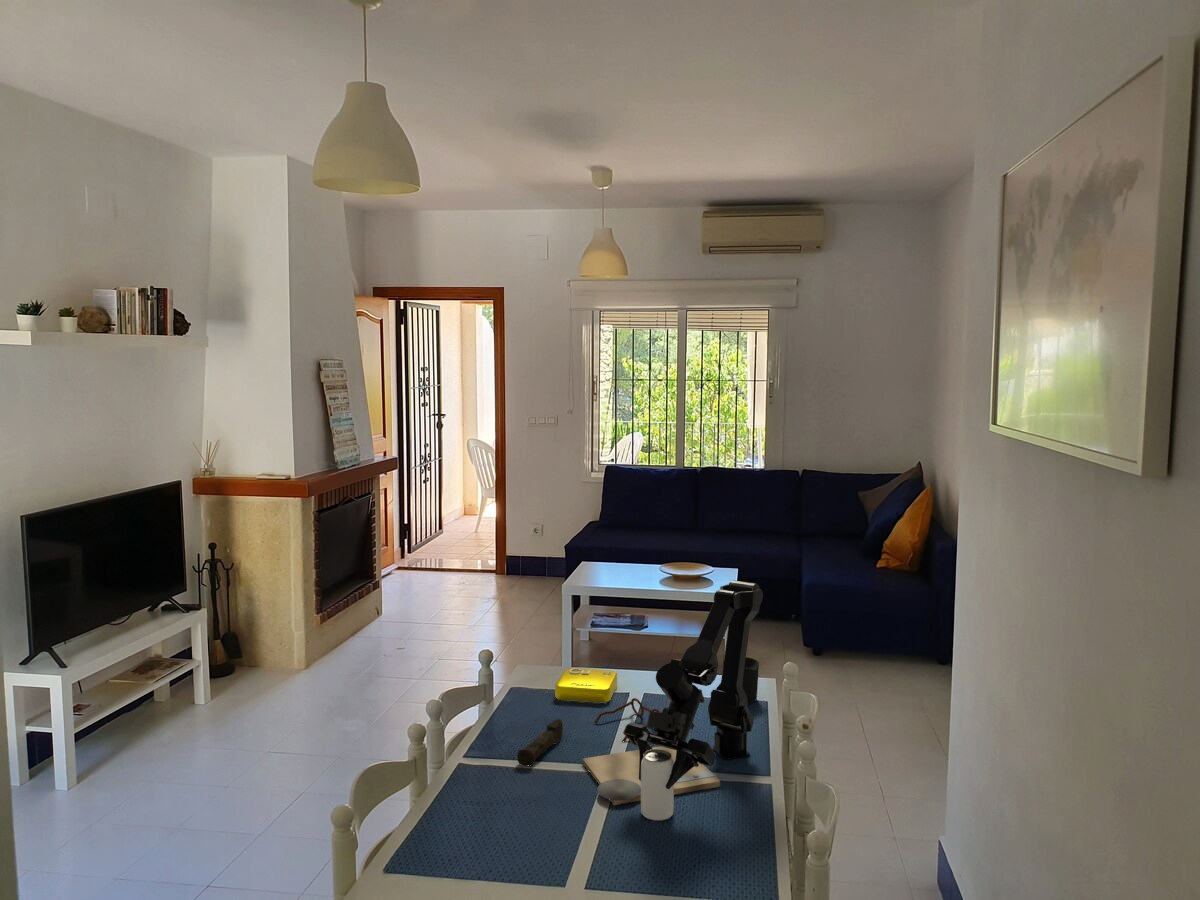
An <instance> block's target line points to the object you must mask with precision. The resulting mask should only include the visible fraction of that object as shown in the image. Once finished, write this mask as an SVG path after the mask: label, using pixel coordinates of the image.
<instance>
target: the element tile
mask: <svg viewBox="0 0 1200 900" xmlns="http://www.w3.org/2000/svg"><path fill="white" fill-rule="evenodd" d="M554 687H555V690H554V694H555V697H556V698H557V699H561V700H575V701H588V702H607V701H609V700H611V701H612V699H611V697H612V695H613V693H614V694H615V692H616V690H617V688H616V687H618V673H617V671H615V670H605V669H588V668H587V669H586V668H577V667H576V668H572V667H570V668H566V669H564V671H563V672H562V673H561V675H560V676H559V678H558V680H557V682H556V683H555V685H554ZM615 689H616V690H615ZM614 691H615V692H614ZM613 696H614V695H613ZM555 697H554V698H555ZM556 698H555V699H556ZM612 698H613V697H612Z"/></svg>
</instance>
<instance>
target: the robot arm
mask: <svg viewBox="0 0 1200 900" xmlns="http://www.w3.org/2000/svg"><path fill="white" fill-rule="evenodd" d="M763 599H764V592H763V590H762V589H761V588H760V586H759V584H758V583H756V582H755V583H754V582H747V581H741V580H740V581H739V580H735V579H733V580H730V581H729V583H728V584H725V585H720V586H719V589H718V590H715V592H714V595H713V604H711V605H712V606H711V607H710V610H709V612H708V615H707V616H706V619H705V622H704V624H703V626H702V629H701V631H700V633H699V635H698V638H697V640H696V642H695V643H693V644H692V645H690V646H689V647H688V648H687V649H686V650H685V651H684V653H683V655H682V657H681V659H676V658H671V660H670V662H669V663H666V664H664V665H662V666H661V667H660V668H659V669H658V670H657V672H656V674H655V682H656V684H657V685H658V686H659V688H660V689H661V691H662V692H663V694H664V695H665V696H666V698H667V699H668V700H670V701H669V703H668V705H667V707H664V708H663V709H662V711H661V713H658V712H656V711H650V712H648V717H647V723H646V725H647V728H646V727H645V725H643V724H640V723H639V724H638V723H634V722H629V723H628V724H626V725H625V727H624V730H623V732H622V733H623V735H624V737H625V736H626V737H627V739H628V741H629V742H630V743H631V744H632V745H633V746H635V747H638V750H639V754H640V762H639V780H640V781H641V761H642V759H643V754H644V753H645V752H646V751H648V750H653V749H652V748H654V745H655V746H657V747H660V746H662V747H666V748H669V749H673V750H676V760H675V762H674V765H673V768H672V772H671V775H670V778H669V780H668V782H667V784H666V788H667V789H670V788H671V787H672V786H673V785H674V784H675V783H676V782H677V781H678V780H679V779H680V778H681V777H682V776H683V775H684V774H685V773H687V772H688V771H689V770H690V769H692V768H693V767H698V766H699V764H703V765H704V766H705V767H710V768H711V767H714V764H715V760H716V753H717V754H718V755H719V756H721V757H722V758H723V759H724V760H731V759H736V758H742V757H743V758H744V757H749V756H751V753H750V752H749V751H748V750H747V748H748V747H747V745H748V744H747V742H748V739H747V738H748V733H750V732H752V731H753V729H752V728H753V726H754V716H753V714H752V713H751V711H750V710H749V708H748V704H747V701H748V699H747V696H746V694H745V691H744V689H743V687H742V682H743V675H744V667H745V659H746V657H747V649H748V642H749V635H750V626H751V621H752V620H753V619H755V617H756V616H757V615H758V613H759V612H760V608H761V604H762V603H763ZM726 632H727V635H726ZM725 635H726V640H725V649H724V656H723V662H724V663H723V662H722V671H721V672H722V673H721V678H720V679H721V680H720V683H719V684H718V686H717V687H716V688H715V689H712V690H711V692H710V699H709V704H708V707H707V708H708V709H707V712H708V717H709V722H710V726H712V727H716V732H714V745H713V747H711V746H710V744H709V743H708V742H707V741H703V740H699V739H695V738H690V739H689V740H688V741H687V738H688V735H689V733H690V730H692V731H693V730H694V728H695V724H694V723H693V722H694V719H695V716H696V713H697V710H698V709H699V705H700V704H704V703H705V697H704V695H703V689H700V688H698V686H697V685H700V686H704V687H708V686H711V685H712V684H713V683H714V681H716V678H717V675H718V668H719V660H718V656H717V655H718V652H719V650H720V647H721V645H722V643H723V642H722V641H723V640H724V638H725ZM648 728H652V730H653V731H654V733H651V731H650V730H649V729H648ZM655 733H656V734H655ZM715 752H716V753H715ZM698 762H699V764H698Z"/></svg>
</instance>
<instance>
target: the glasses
mask: <svg viewBox="0 0 1200 900" xmlns="http://www.w3.org/2000/svg"><path fill="white" fill-rule="evenodd" d="M634 702H636V703H637V704H638V705H639V707H640V711H641V713H639V712H638V711H637V710H636V708H635V705H634ZM629 706H631V709H632V710H633V713H634V714H635V715H636V714H637V715H636V716H638V717H643V716H644V710H645V711H646V712H647V711H648V713H650V711H654V712H658V713H662V711H660V709H658V708H653V709H650V708H649V707H647V706H644V705H643V704H642V702H641V701H640V699H638V698H636V697H634V698H631V701H629V702H627V703H625V704H623V705H621V706H619V707H616V708H615V709H612V710H610V711H603V712H600V713H598V715H597V717H596V719H595V720H594V721H593V723H596V724H597V723H598V722H599V721H600V719H601V717H602V716H604V715H607V714H608V715H609V714H610V715H611V714H612V715H613V714H615V713H616V712H619V711H621V710H623V709H624V708H626V707H629ZM644 726H645V727H646V728H647V729H648V727H647V724H645V725H644ZM627 739H628V738H627V737H626V736H625V735H624V737H623V739H621V742H622V743H624V742H623V741H625V742H626V741H627Z"/></svg>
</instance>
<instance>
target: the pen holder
mask: <svg viewBox="0 0 1200 900" xmlns="http://www.w3.org/2000/svg"><path fill="white" fill-rule="evenodd" d="M723 663H724V661H722V664H723ZM759 666H760V663H759V661H758V660H756V658H753V657H748V656H746V659H745V667H744V675H743V682H742V687H743V689H744V691H745V694H746V696H747V699H748V701H747V705H749V704H752V703H755V702H756V700H757V698H758V685H759V670H760V669H759V668H760V667H759Z"/></svg>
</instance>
